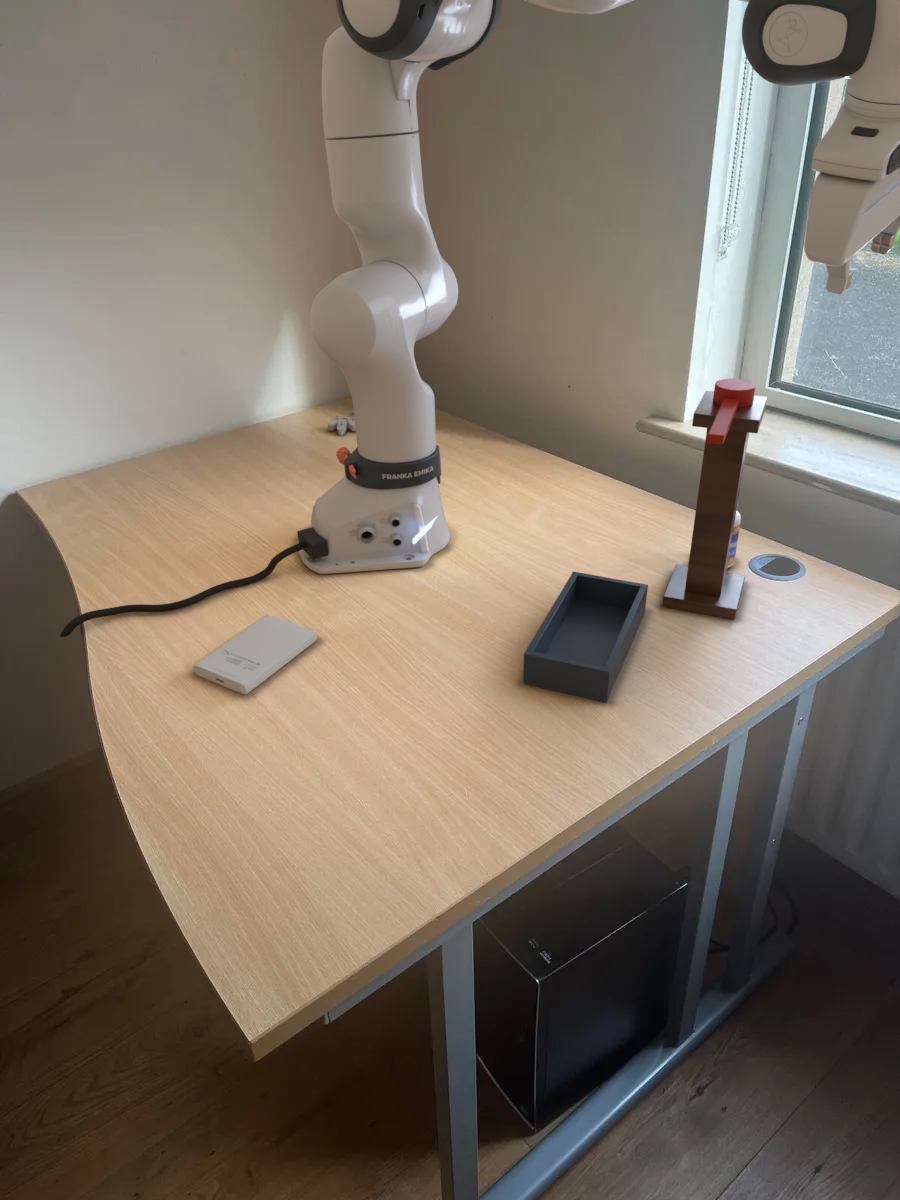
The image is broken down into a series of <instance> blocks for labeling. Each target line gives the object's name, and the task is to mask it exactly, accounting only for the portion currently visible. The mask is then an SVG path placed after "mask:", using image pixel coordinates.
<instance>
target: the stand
mask: <svg viewBox="0 0 900 1200" xmlns="http://www.w3.org/2000/svg"><path fill="white" fill-rule="evenodd" d="M713 396H714V390H712V391H711V390H705V392H704V394H703V395H702V397H701V399H700V401H699V403H698V404H697V407H696V408H695V411H694V412H693V414H692V415H693V416H692V424H691V426H692V427H694V428H695V427H697V428H703V429H706V434H705V440H704V441H705V442H704V448H703V455H702V463H701V471H700V478H699V485H698V492H697V500H696V506H695V514H694V521H693V529H692V536H691V541H690V542H691V544H690V550H689V558H688V565H683V564H675V565H674V569H673V572H672V574H671V576H670V579H669V581H668V584H667V586H666V589H665V591H664V593H663V597H662V604H661V607H665V608H671V609H675V610H681V611H686V612H691V613H697V614H702V615H707V616H708V615H709V616H714V617H719V618H724V619H729V620H736V616H737V614H738V609H739V605H740V601H741V597H742V593H743V591H744V590H743V589H744V586H745V580H746V575H743V574H737V573H731V572H727V571H728V568H727V565H728V559H729V553H730V547H731V541H732V535H733V528H734V522H735V516H736V510H737V509H738V507H737V504H738V505H739V498H740V491H741V485H742V479H743V473H744V465H745V460H746V455H747V448H748V444H749V443H748V442H749V436H750V434H758V433H759V430H760V426H761V423H762V421H763V417H764V414H765V412H766V408H767V402H768V396H763V395H754V400H753V403H752V405H750V406H747V407H739V408H737V411H736V413H735V416H734V418H733V420H732V423H731V425H730V428H729V430H728V433H727V435H726V438H725V440H724V443H723V445H721V444H712V443H707V437H708V433H709V431H710V429H711V426H712V424H713V422H714V420H715V418H716V415H717V413H718V411H719V409H720V407H721V405H718V404H716V403H715V402H714V401H713ZM737 511H738V510H737Z"/></svg>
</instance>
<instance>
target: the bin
mask: <svg viewBox="0 0 900 1200" xmlns="http://www.w3.org/2000/svg"><path fill="white" fill-rule="evenodd" d="M570 574H571V575H570V576H569V578H568V579H567V581H566V583H565V585H564V586H563V587H562V590H561V591H560V593H559V595H558V596H557V597H556V599H555V601H554V603H553V605H552V606H551V608H550V609H549V612H548V613H547V614H546V616H545V618H544V620H543V621H542V623H541V624H540V626H539V628H538V630H537V632H536V633H535V634H534V637H533V638H532V640H531V642H530V643H529V645H528V646H527V648H526V650H525V651H524V653H523V675H522V676H523V677H522V679H523V680H522V684H524V685H529V686H533V687H537V688H542V689H546V690H551V691H555V692H559V693H564V694H568V695H573V696H577V697H582V698H585V699H590V700H593V701H599V702H602V703H607V702H608V701H609V699H610V696H611V693H612V691H613V690H614V686H615V684H616V681H617V679H618V677H619V674H620V673H621V671H622V668H623V665H624V663H625V661H626V658H627V655H628V654H629V651H630V649H631V646H632V644H633V641H634V639H635V636H636V634H637V632H638V629H639V627H640V625H641V622H642V620H643V618H644V615H645V613H646V606H647V599H648V598H647V597H648V589H649V584H645V583H640V582H636V581H628V580H624V579H618V578H612V577H606V576H602V575H601V576H600V575H595V574H590V573H583V572H578V571H572V573H570Z"/></svg>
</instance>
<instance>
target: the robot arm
mask: <svg viewBox="0 0 900 1200" xmlns="http://www.w3.org/2000/svg"><path fill="white" fill-rule="evenodd" d="M522 1H523V2H525V3H526V2H527V3H529V4H533V5H535V6H537V7H541V8H544V9H547V10H550V11H554V12H559V13H567V14H576V15H577V14H578V15H598V14H602V13H605V12H608V11H611V10H613V9H616V8H618V7H621V6H624V5H627V4H629V3H632V2H634V1H635V0H522ZM739 1H741V2H744V3H747V5H746V8H745V11H744V14H743V18H742V25H741V39H742V41H741V42H742V46H743V51H744V53H745V56H746V59H747V61H748V63H749V64H750V66H751V68H752V69H753V70H754V71H755V73H756V74H758V76H759V77H761V78H762V79H763V80H765V81H767V82H769V83H770V84H774V85H776V86H781V87H794V86H804V85H812V84H819V83H825V82H832V81H836V80H840V79H843V78H844V79H845V80H847V81H846V89H845V93H844V98H843V104H842V106H841V107H840V108H839V110H838V112H837V114H836V117H835V118H834V121H833V122H832V124H831V126H830V127H829V128H828V130H827V131H826V133H825V134H824V135H823V137H822V138H821V139H820V141H819V142H818V143H817V145H816V147H815V148H814V151H813V155H812V159H811V170H812V171H814V172H819V173H818V175H817V176H816V178H815V180H814V182H813V185H812V188H811V191H810V196H809V203H808V209H807V214H806V223H805V232H804V241H803V250H804V253H805V256H806V259H807V260H808V261H809V262H813V263H817V264H820V265H824V266H825V267H826V268H825V269H826V272H827V281H826V285H825V289H826V291H827V292H829V293H832V294H837V295H841V294H843V293H844V292H845V291H846V290H847V289H848V288H849V287H850V286H851V284H852V279H853V274H854V271H851V269H850V268H851V267H850V266H851V262H853V260H854V257H855V255H856V254H857V253H858V252H859V251H861V250H862V249H863V248H864V247H865V246H866V245H867V244H869V243H870V242H871V241H872V243H871V246H870V250H871V252H872V253H876V254H880V255H886V254H888V253H889V252H890V251H892V250H893V248H894V247H895V245H896V240H897V237H898V233H899V232H900V0H739ZM335 3H336V8H337V13H338V17H339V19H340V22H341V24H342V25H341V26H340V27H338V28H337V29H335V30H334V31H332V33H331V34H330V35H329V36H328V38H327V39H326V41H325V43H324V46H323V52H322V61H321V62H322V63H321V110H322V125H323V133H324V134H323V135H324V138H325V139H324V144H325V151H326V160H327V167H328V168H327V169H328V177H329V183H330V184H329V185H330V192H331V201H332V207H333V210H334V212H335V214H336V215H337V217H338V219H340V220H341V221H342V222H343V223H345V224H346V225H347V226H348V228H349V229H350V231H351V233H352V234H353V237H354V239H355V241H356V244H357V247H358V250H359V253H360V257H361V262H362V266H360V267H356V268H355V269H350V270H348V271H346V272H345V271H344V272H343V273H341V274H339V275H338V276H337V277H336V278H334V279H333V280H331V281H330V282H329V283H328V284H327V285H326V286H324V287H323V288H322V289H321V290H320V291H319V292H318V293H317V294H316V296H315V297H314V299H313V300H312V304H311V307H310V313H309V324H310V328H311V329H310V330H311V333H312V336H313V338H314V340H315V342H316V344H317V346H318V347H319V348H320V350H321V351H322V352H323V354H325V355H326V356H327V357H328V358H329V359H330V360H332V361H333V362H335V363H336V364H337V365H338V367H339V369H340V370H341V373H342V374H343V377H344V379H345V381H346V384H347V387H348V390H349V394H350V397H351V402H352V407H353V418H355V427H356V431H355V436H356V437H355V438H356V448H355V449H353V451H352V452H351V451H350V450H349V449H348V447H339V448H338V449H337V451H335V452H336V455H335V457H336V459H337V460H338V462H339V463H340V464H341V465H343V466H344V467H343V468H344V474H345V475H344V476H343V477H342V478H341V479H340V480H339V481H338V482H337V483H335V484H334V485H333V486H331V487H330V488H329V489H328V490H327V491H326V492H325V493H323V494H322V495H321V496H320V497H318V498H317V499H316V501H315V503H314V505H313V507H312V512H311V518H310V525H308V526H305V527H304V528H302V529H300V530H297V531H296V533H297V543H296V544H293V545H292V546H290V547H287V548H285V549H283V550H282V551H280V552H279V553H277V554H275V556H273V557H272V558H271V560H270V561H269V563H268V564H267V565H266V567H265V568H264V569H262V570H261V571H259V572H258V573H256V574H253V575H251V576H248V577H243V578H240V579H239V578H238V579H235V580H229V581H226V582H223V583H218V584H217V585H215V586H211V587H209V588H207V589H205V590H203V591H201V592H198V593H197V594H193V595H192V596H189V597H187V598H184V599H182V600H179V601H174V602H170V603H161V604H160V603H159V604H144V603H143V604H123V605H119V606H113V607H108V608H102V609H95V610H91V611H87V612H84V613H82V614H80V615H77V616H76V617H74V618H73V619H71V621H69V622H68V623H67V624H66V625H65V626H64V628H63V629H62V631H61V632H60V634H59V637H60V638H66V637H68V636H70V635H71V634H72V632H73V631H74V630H75V629H76V628H77V627H78V626H79V625H81V624H83V623H85V622H87V621H90V620H94V619H99V618H104V617H110V616H116V615H120V614H121V615H122V614H127V613H163V612H165V613H166V612H170V611H177V610H180V609H183V608H184V609H185V608H186V607H189V606H192V605H195V604H197V603H200V602H201V601H203V600H205V599H207V598H209V597H210V598H211V596H213V595H216V594H219V593H221V592H224V591H227V590H230V589H234V588H238V587H243V586H248V585H251V584H255V583H257V582H259V581H261V580H264V579H265V578H267V577H268V576H270V575H271V574H272V573H273V571H274V570H275V568H276V567H277V565H278V564H279V563H280V562H281V561H283V560H284V559H286V558H288V557H289V556H291V555H294V554H295V553H298V555H299V558H300V561H302V563H303V564H304V566H305V567H306V568H307V569H310V571H312V572H314V573H317V574H319V575H328V574H341V573H342V574H343V573H354V572H357V573H358V572H370V571H383V570H397V569H411V568H412V569H413V568H421V567H423V566H425V565H426V564H427V563H428V562H429V560H430V559H431V558H432V557H433V556H434V555H435V554H437V553H439V552H440V551H441V550H443V549H444V548H445V547H446V546H447V545H448V544H449V542H450V540H451V537H452V536H451V535H452V534H451V530H450V529H449V527H448V526H449V525H448V523H447V520H446V516H445V513H444V512H445V511H444V508H443V502H442V497H441V489H440V484H441V476H442V458H441V457H442V456H441V452H440V446H439V445H437V425H436V404H435V403H436V398H435V394H434V390H433V389H432V388H431V386H430V385H429V384H428V383H427V382H425V381H424V380H423V379H422V377H421V375H420V372H419V369H418V367H417V366H418V365H417V363H416V362H417V361H416V358H415V344H416V342H418V341H419V340H422V339H424V338H426V337H428V336H429V335H431V334H434V333H435V332H436V331H438V330H439V329H440V328H441V326H443V324H444V323H445V322H446V321H447V320H448V318H449V317H450V316H451V315H452V313H453V312H454V310H455V308H456V307H457V303H458V299H459V285H458V280H457V277H456V274H455V272H454V270H453V269H452V267H451V266H450V265H449V263H448V262H447V261H446V260H445V259H444V258H443V257H442V255H441V253H440V251H439V248H438V245H437V242H436V238H435V235H434V233H433V229H432V226H431V223H430V219H429V214H428V209H427V206H426V198H425V192H424V191H425V190H424V179H423V169H422V156H421V144H420V132H419V120H418V106H417V89H418V85H419V81H420V78H421V76H422V74H423V73H424V71H425V70H426V69H427V68H428V69H429V70H432V71H439V70H441V69H442V68H445V67H446V66H448V65H451V64H452V63H454V62H456V61H458V60H460V59H463V58H465V57H466V56H468V55H470V54H472V53H473V52H475V51H477V50H478V49H479V48H481V47H482V46H483V45H485V43H486V42H488V40H490V38H491V37H492V36H493V34H494V33H495V31H496V29H497V27H498V25H499V22H500V20H501V17H502V16H501V15H502V11H503V3H504V2H503V0H335Z"/></svg>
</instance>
